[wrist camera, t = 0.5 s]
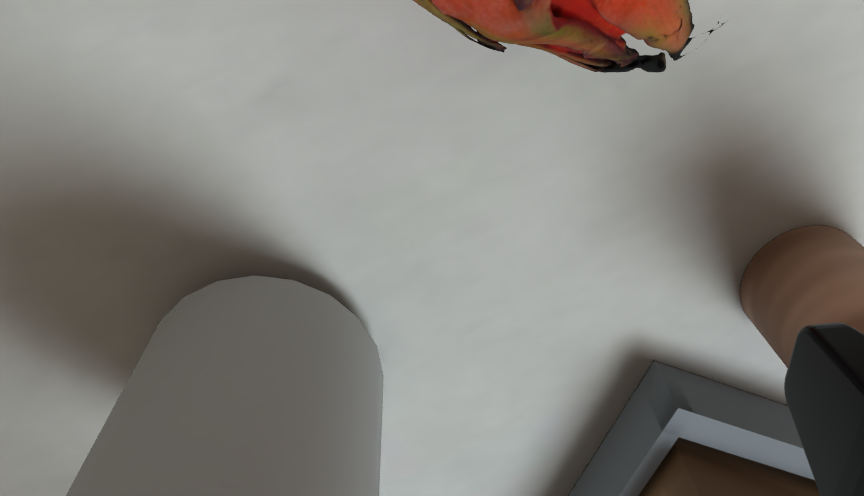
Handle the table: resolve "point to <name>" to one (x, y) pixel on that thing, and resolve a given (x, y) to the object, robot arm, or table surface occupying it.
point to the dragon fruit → (575, 28)
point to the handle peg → (804, 285)
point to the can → (246, 400)
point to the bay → (689, 431)
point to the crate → (721, 475)
